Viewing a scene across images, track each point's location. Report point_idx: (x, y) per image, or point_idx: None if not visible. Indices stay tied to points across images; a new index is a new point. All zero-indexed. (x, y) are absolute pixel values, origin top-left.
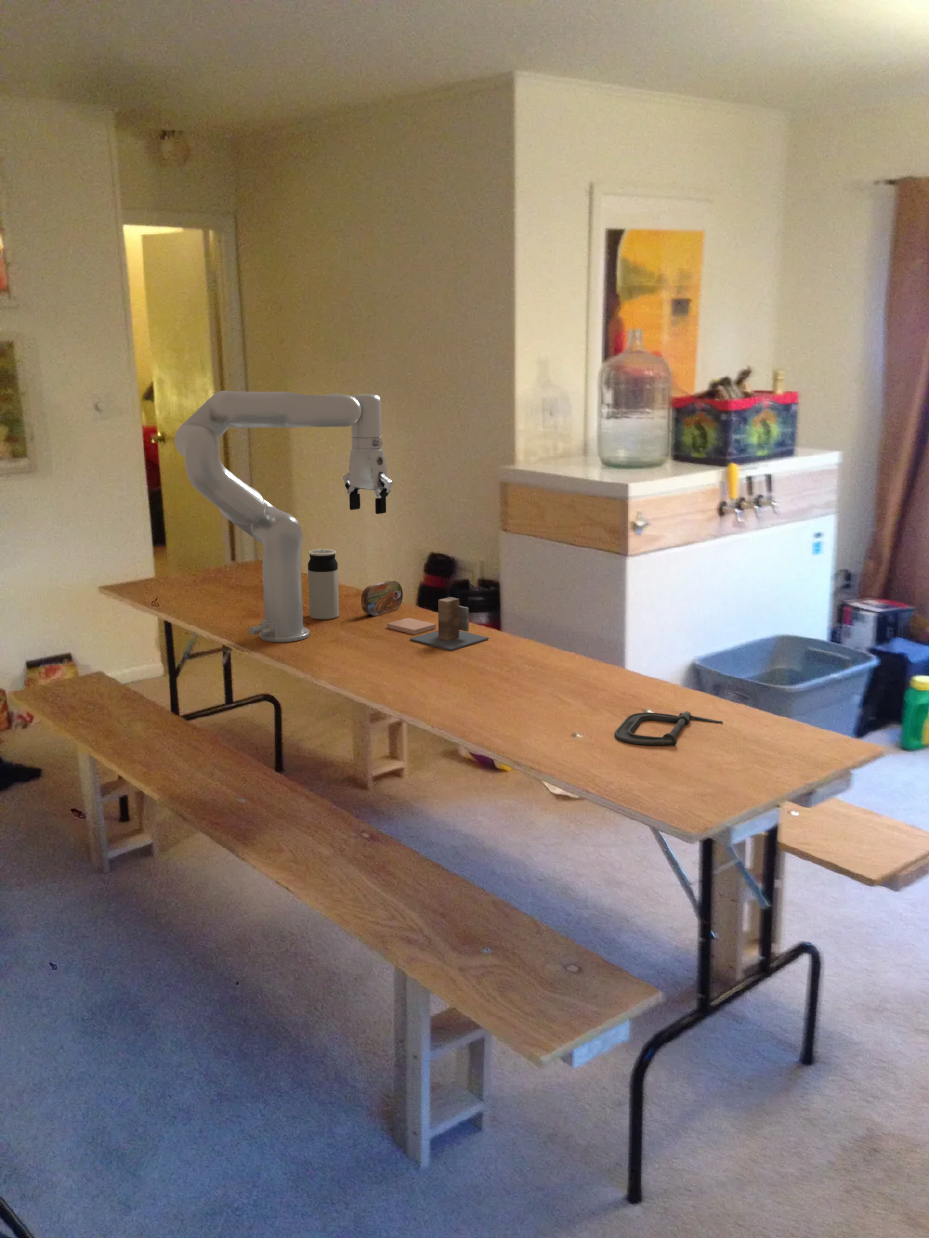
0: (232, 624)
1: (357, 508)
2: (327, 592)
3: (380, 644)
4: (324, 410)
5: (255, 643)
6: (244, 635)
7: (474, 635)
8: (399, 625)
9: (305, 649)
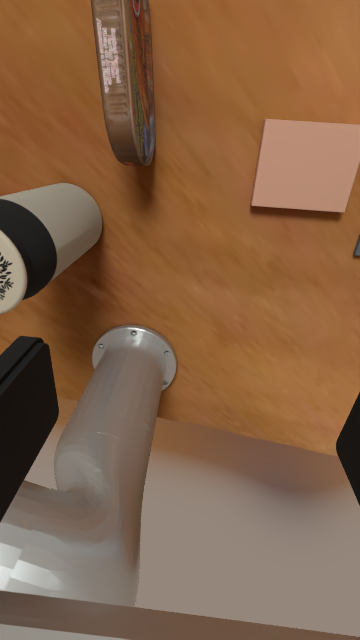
0: None
1: (49, 368)
2: (78, 253)
3: (311, 308)
4: None
5: None
6: None
7: None
8: (289, 202)
9: (218, 390)
